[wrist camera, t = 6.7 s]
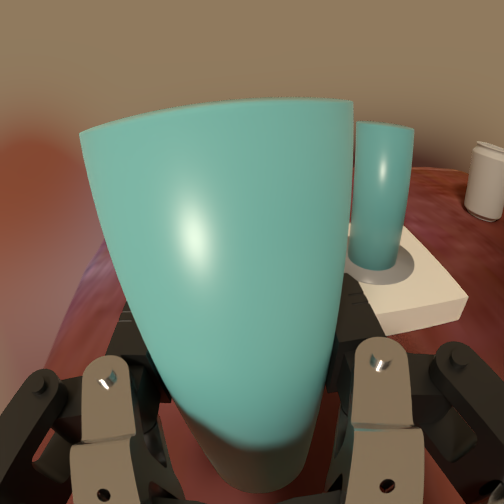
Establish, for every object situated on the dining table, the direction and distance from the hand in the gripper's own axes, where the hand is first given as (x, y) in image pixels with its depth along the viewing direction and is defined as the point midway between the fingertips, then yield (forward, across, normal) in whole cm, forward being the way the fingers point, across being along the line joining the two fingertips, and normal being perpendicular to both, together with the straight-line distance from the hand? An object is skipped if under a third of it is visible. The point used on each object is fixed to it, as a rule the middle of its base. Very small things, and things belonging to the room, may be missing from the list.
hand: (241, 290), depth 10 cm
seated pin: (+13, -11, +10) cm, 20 cm away
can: (+26, -39, +11) cm, 49 cm away
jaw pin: (-3, 0, +8) cm, 8 cm away
